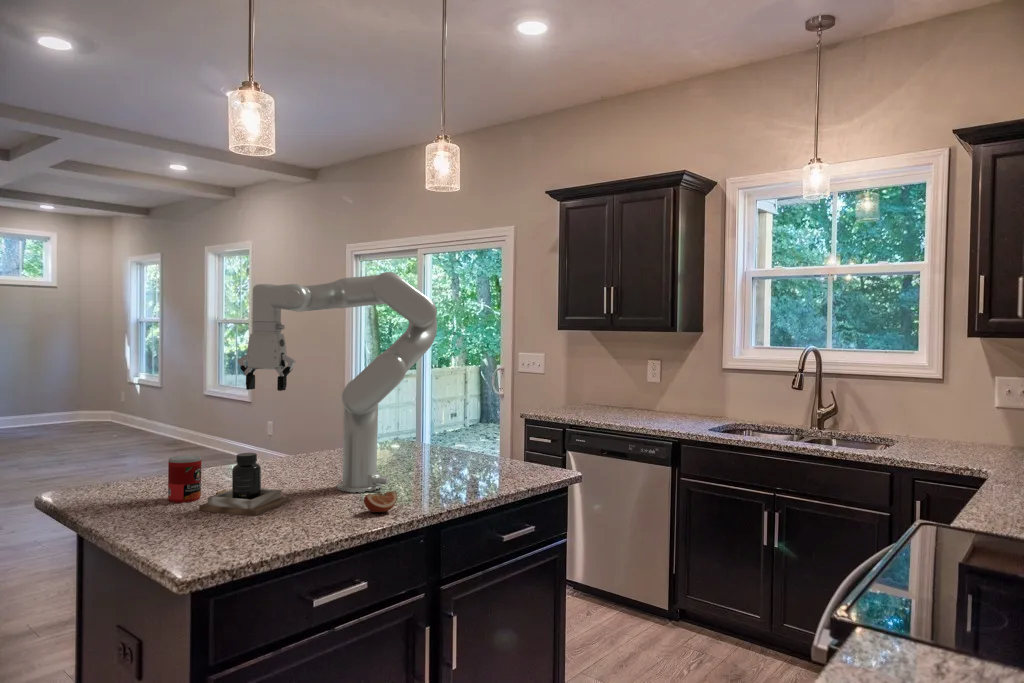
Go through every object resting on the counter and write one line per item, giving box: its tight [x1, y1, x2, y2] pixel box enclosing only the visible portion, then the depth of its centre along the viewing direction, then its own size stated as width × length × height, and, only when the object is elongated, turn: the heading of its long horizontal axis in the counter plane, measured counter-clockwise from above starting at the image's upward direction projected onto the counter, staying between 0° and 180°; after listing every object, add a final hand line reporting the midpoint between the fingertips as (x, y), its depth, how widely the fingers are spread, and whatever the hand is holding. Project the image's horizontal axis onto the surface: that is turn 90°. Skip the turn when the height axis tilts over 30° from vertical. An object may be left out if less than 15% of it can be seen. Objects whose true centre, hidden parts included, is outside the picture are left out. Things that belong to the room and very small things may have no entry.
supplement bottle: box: [231, 452, 262, 500], centre depth 169 cm, size 7×7×12 cm
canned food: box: [167, 454, 202, 504], centre depth 174 cm, size 8×8×11 cm
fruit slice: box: [363, 490, 398, 513], centre depth 165 cm, size 8×7×5 cm
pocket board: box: [198, 487, 290, 516], centre depth 169 cm, size 16×14×3 cm
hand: (266, 389), depth 186 cm, fingers open, 9 cm apart
